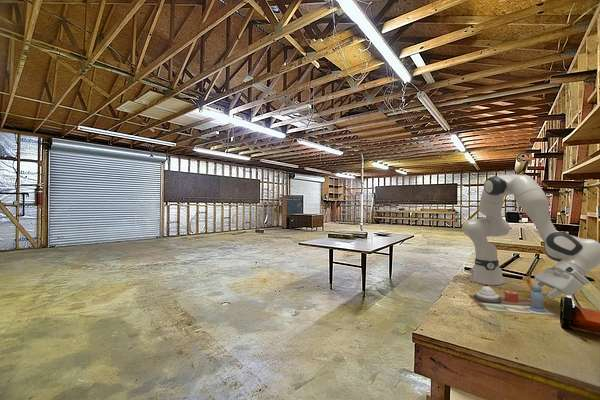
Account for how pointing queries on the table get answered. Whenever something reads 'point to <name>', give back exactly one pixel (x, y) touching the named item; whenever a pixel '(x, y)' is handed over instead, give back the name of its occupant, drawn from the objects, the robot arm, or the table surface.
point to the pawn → (537, 299)
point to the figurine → (528, 282)
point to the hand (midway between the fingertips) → (540, 293)
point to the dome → (487, 293)
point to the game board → (507, 306)
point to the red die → (511, 296)
